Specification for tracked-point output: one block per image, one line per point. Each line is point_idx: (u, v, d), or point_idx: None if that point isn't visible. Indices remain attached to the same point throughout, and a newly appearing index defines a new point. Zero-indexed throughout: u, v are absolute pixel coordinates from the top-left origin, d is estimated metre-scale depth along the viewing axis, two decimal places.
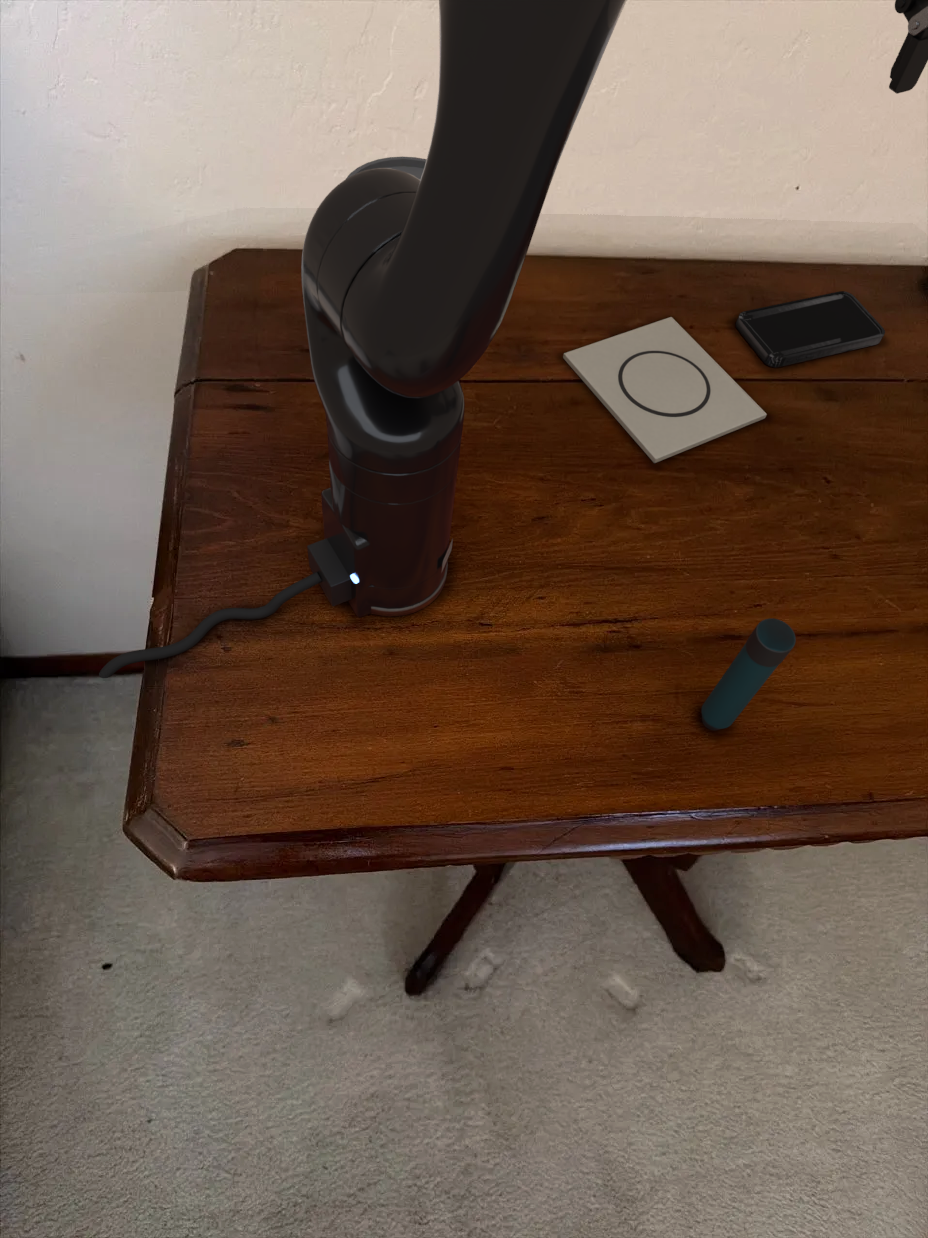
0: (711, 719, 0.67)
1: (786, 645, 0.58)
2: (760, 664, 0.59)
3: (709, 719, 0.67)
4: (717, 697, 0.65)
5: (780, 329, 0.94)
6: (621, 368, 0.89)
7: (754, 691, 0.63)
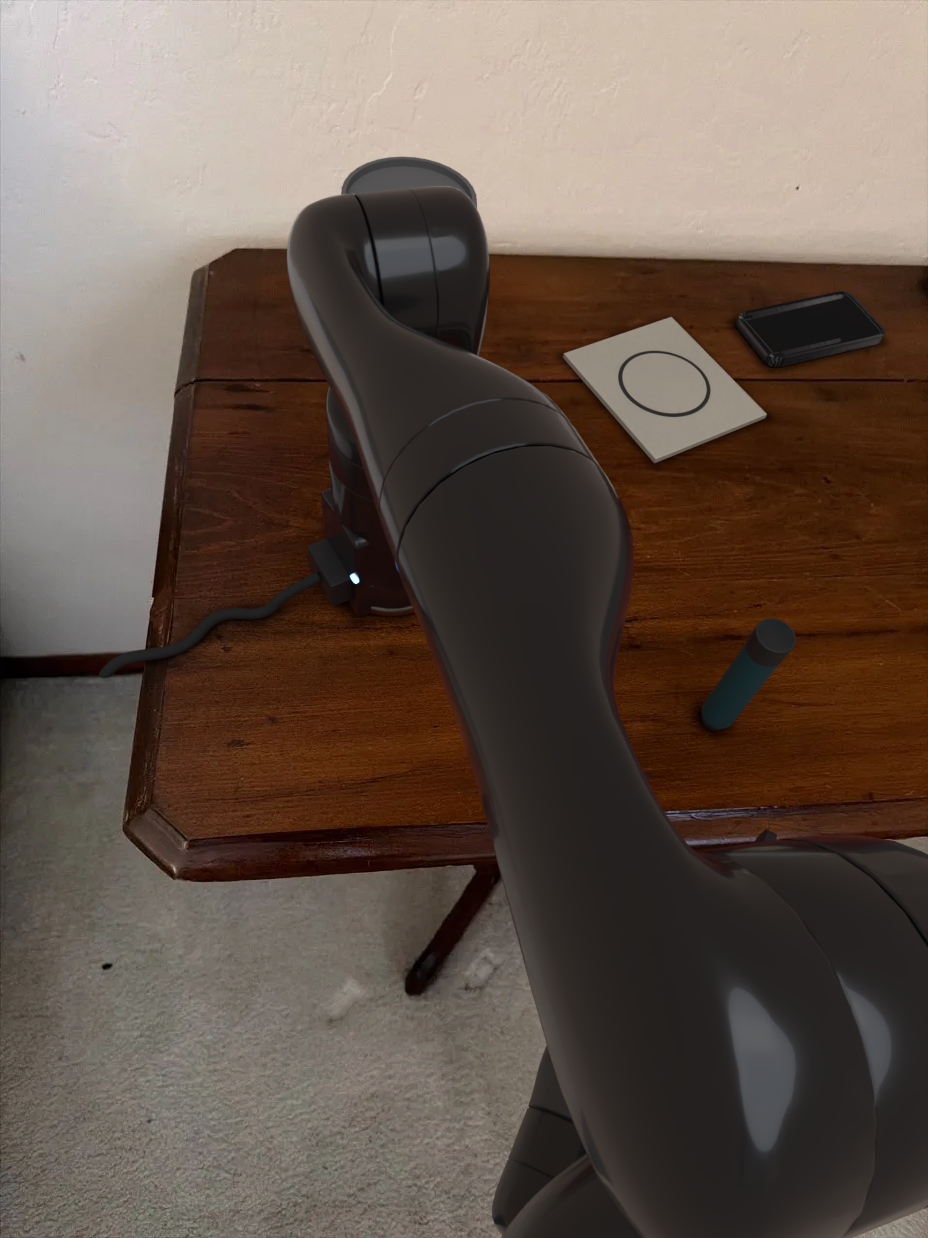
0: (711, 719, 0.67)
1: (786, 645, 0.58)
2: (760, 664, 0.59)
3: (709, 719, 0.67)
4: (717, 697, 0.65)
5: (780, 329, 0.94)
6: (621, 368, 0.89)
7: (754, 691, 0.63)
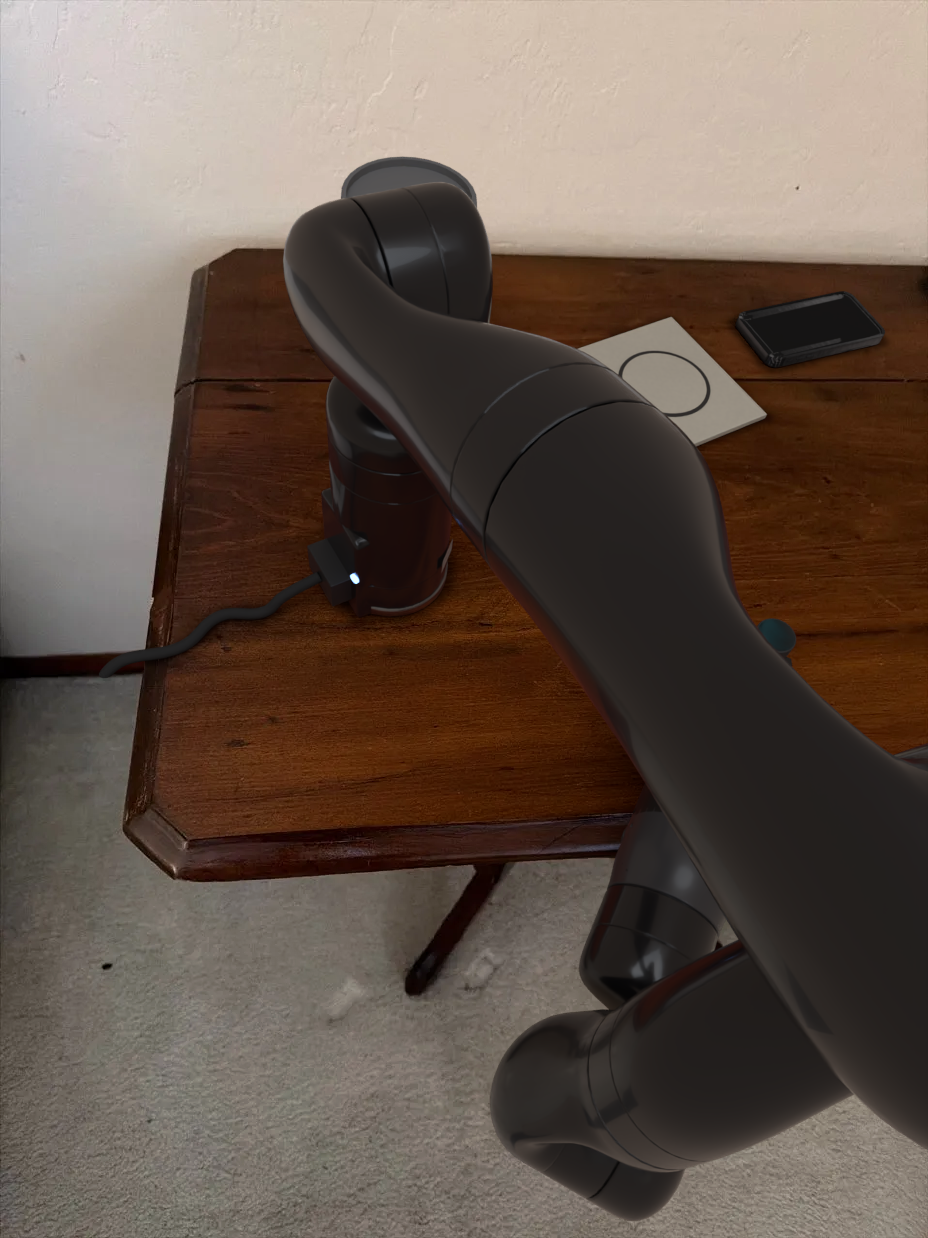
0: None
1: (786, 645, 0.58)
2: None
3: None
4: None
5: (780, 329, 0.94)
6: (621, 368, 0.89)
7: None
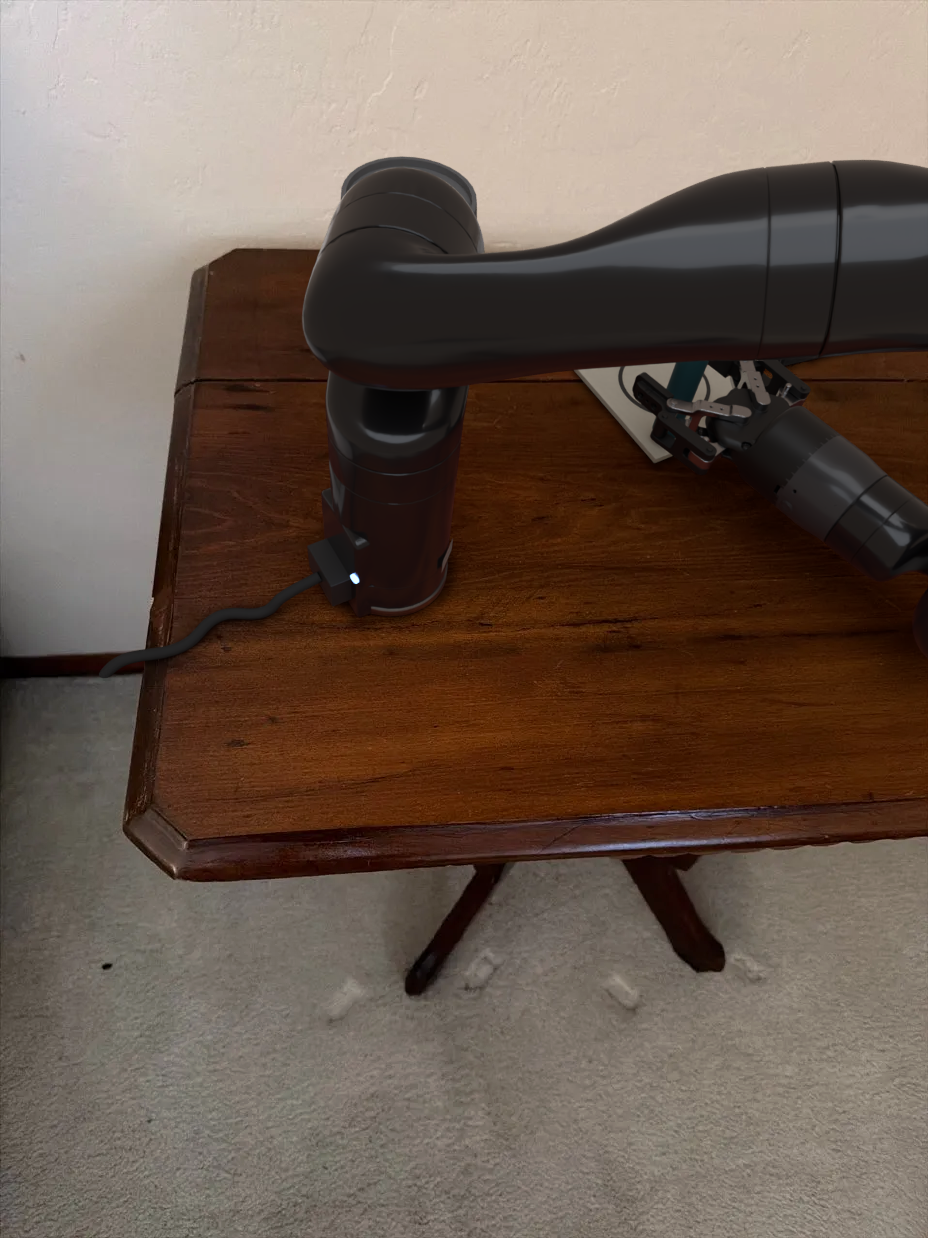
0: None
1: None
2: None
3: (672, 435, 0.82)
4: None
5: None
6: (621, 368, 0.89)
7: None
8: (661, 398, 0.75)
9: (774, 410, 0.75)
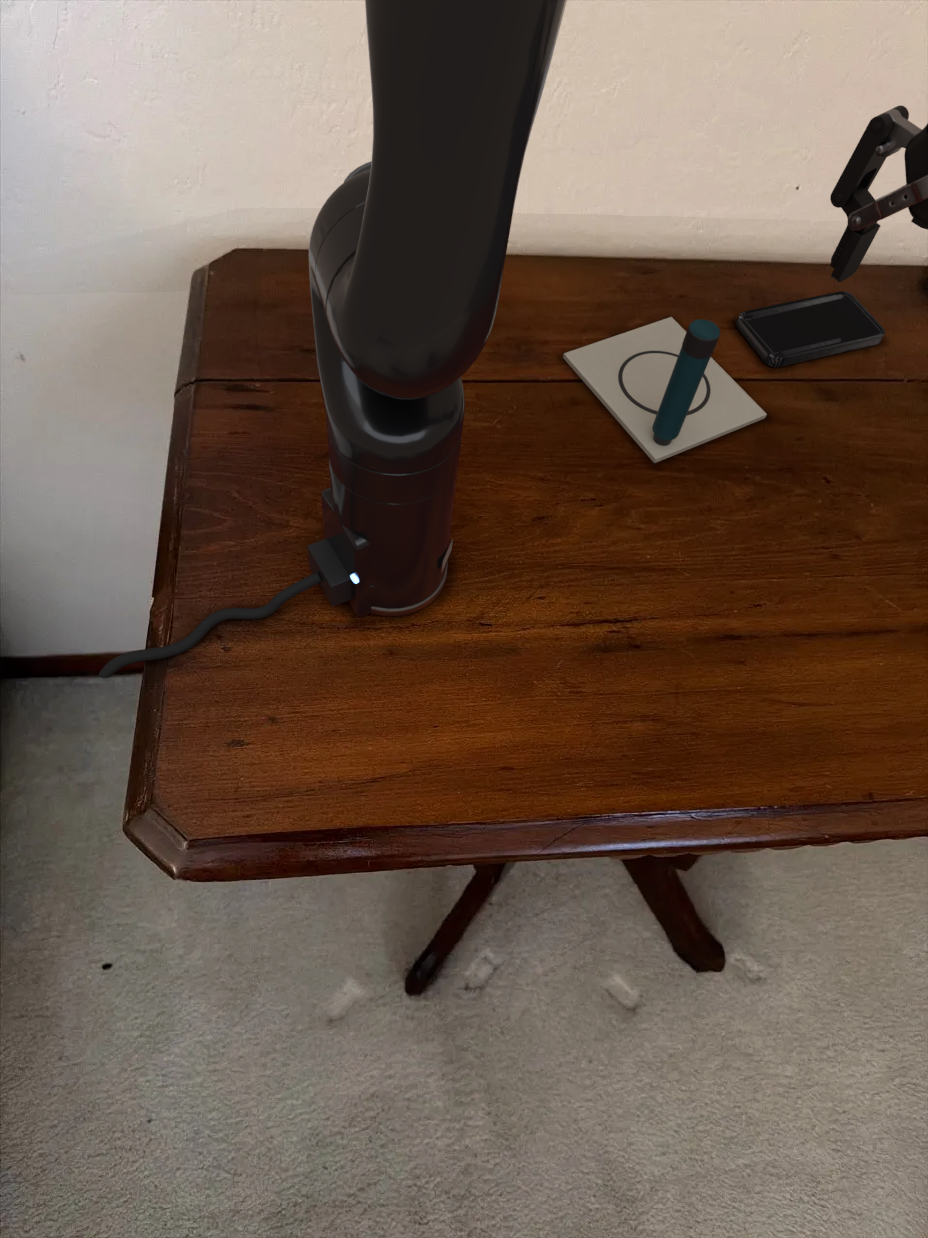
0: (674, 433, 0.82)
1: (715, 328, 0.74)
2: (709, 356, 0.75)
3: (672, 435, 0.82)
4: (675, 413, 0.80)
5: (780, 329, 0.94)
6: (621, 368, 0.89)
7: None
8: None
9: None
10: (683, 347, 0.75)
